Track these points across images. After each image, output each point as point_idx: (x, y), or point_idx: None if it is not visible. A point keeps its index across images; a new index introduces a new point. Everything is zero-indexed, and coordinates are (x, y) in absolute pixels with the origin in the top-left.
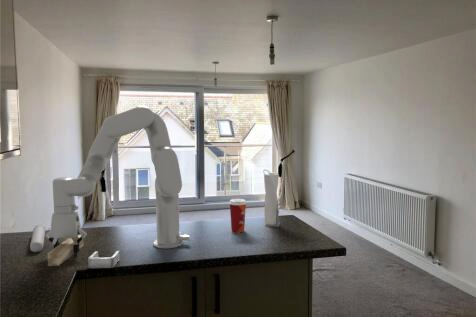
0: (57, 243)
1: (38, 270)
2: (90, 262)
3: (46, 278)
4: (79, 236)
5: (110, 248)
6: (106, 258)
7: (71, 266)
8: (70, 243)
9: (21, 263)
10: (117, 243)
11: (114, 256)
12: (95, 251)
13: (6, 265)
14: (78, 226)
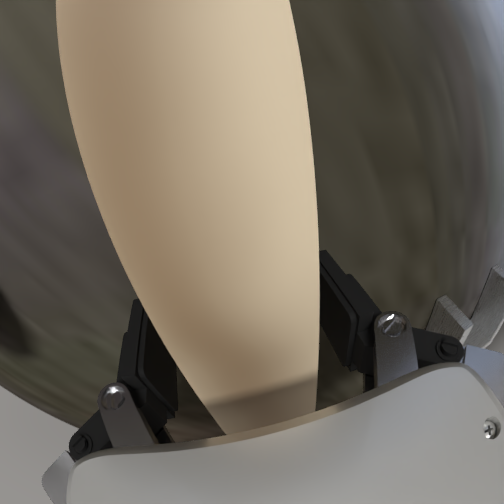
0: (157, 404)
1: None
2: None
3: None
4: (270, 47)
5: (476, 109)
6: None
7: (351, 378)
8: (308, 373)
9: (94, 412)
10: (471, 14)
11: (498, 330)
12: (464, 331)
13: (68, 421)
14: (498, 472)
